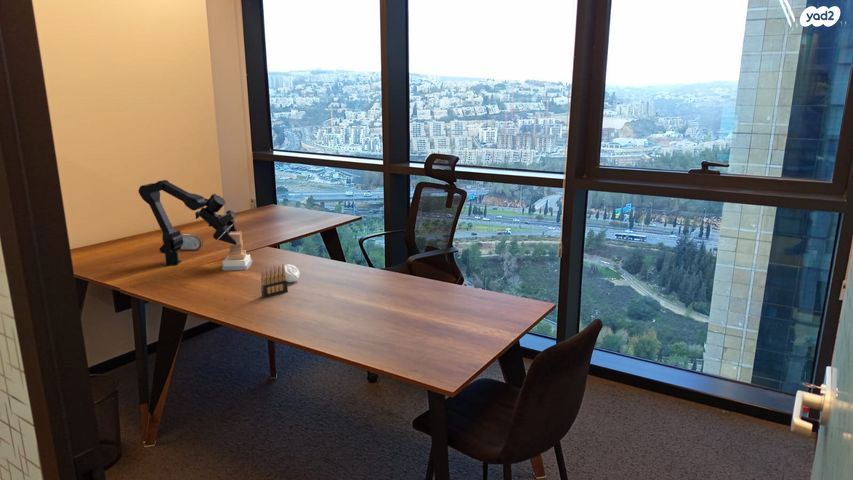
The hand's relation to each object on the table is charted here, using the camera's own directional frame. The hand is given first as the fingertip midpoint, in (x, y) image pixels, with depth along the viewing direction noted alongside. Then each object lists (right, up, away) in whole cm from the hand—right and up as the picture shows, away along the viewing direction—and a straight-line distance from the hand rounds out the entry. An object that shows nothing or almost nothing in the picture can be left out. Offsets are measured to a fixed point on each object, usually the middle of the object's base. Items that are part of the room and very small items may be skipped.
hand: (238, 241), depth 269 cm
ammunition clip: (+25, -22, -32) cm, 46 cm away
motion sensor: (+28, -18, -18) cm, 38 cm away
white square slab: (-2, -10, +3) cm, 11 cm away
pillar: (-1, -8, +2) cm, 8 cm away
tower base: (-1, -13, +3) cm, 13 cm away
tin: (-36, -5, +30) cm, 47 cm away
